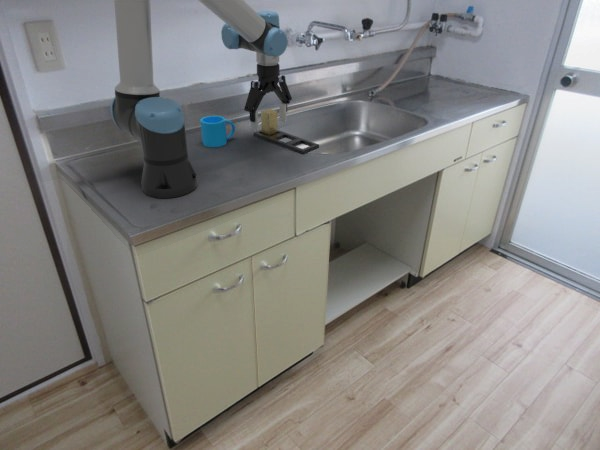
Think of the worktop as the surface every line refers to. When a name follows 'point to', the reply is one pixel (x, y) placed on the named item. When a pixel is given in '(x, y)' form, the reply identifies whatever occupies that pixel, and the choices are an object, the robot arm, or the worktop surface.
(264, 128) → the nut block
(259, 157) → the worktop surface
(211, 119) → the mug
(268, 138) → the dark slotted tray
